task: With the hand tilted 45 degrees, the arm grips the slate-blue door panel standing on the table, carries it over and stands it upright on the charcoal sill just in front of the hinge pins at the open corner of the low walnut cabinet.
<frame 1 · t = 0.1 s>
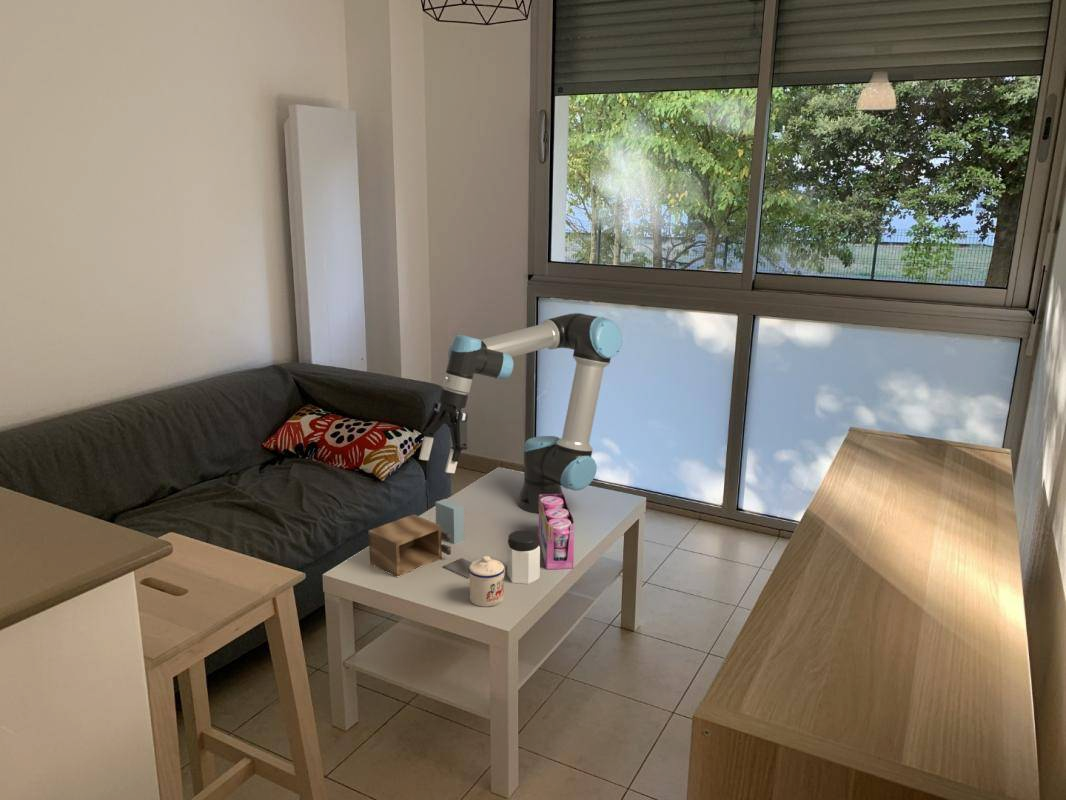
hand: (436, 466, 226), 28 cm above the table, tool tilted 20°, fingers open, 13 cm apart
teacup with lid: (490, 597, 212), on the table
gum box: (555, 552, 238), on the table
cabinet: (406, 561, 231), on the table
door panel: (450, 538, 247), on the table
jar: (523, 577, 223), on the table
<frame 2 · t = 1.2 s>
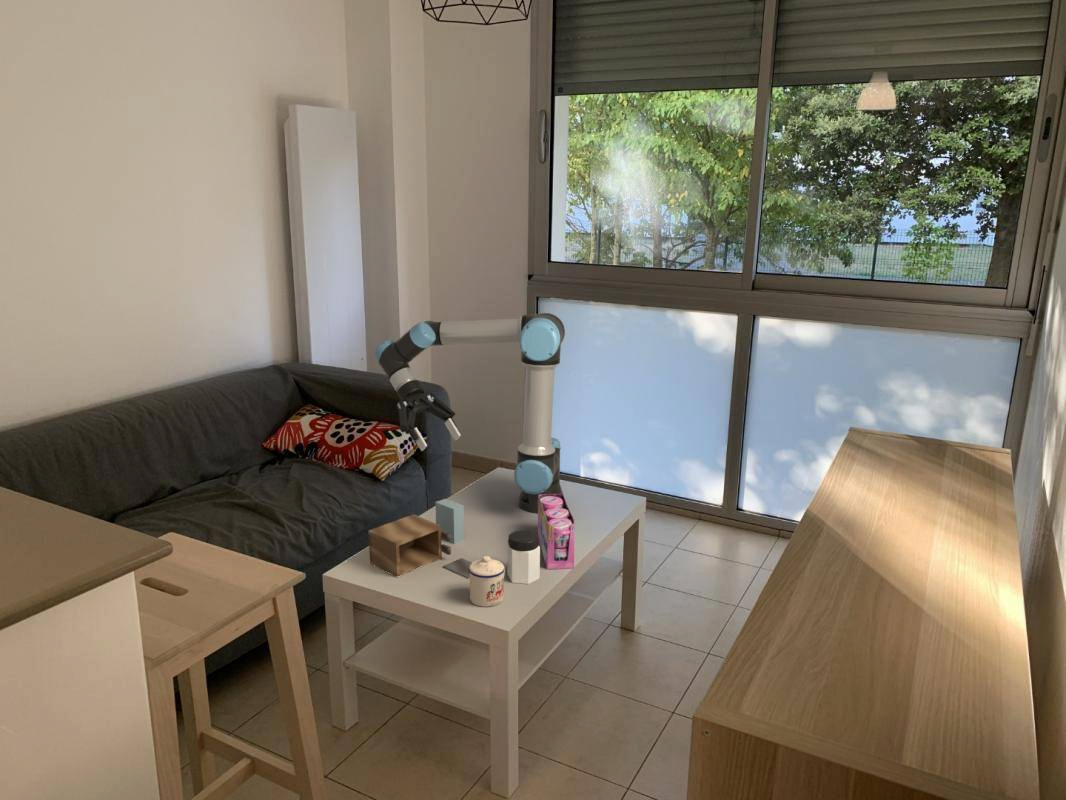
hand: (441, 443, 246), 28 cm above the table, tool tilted 45°, fingers open, 13 cm apart
nothing on the table moved.
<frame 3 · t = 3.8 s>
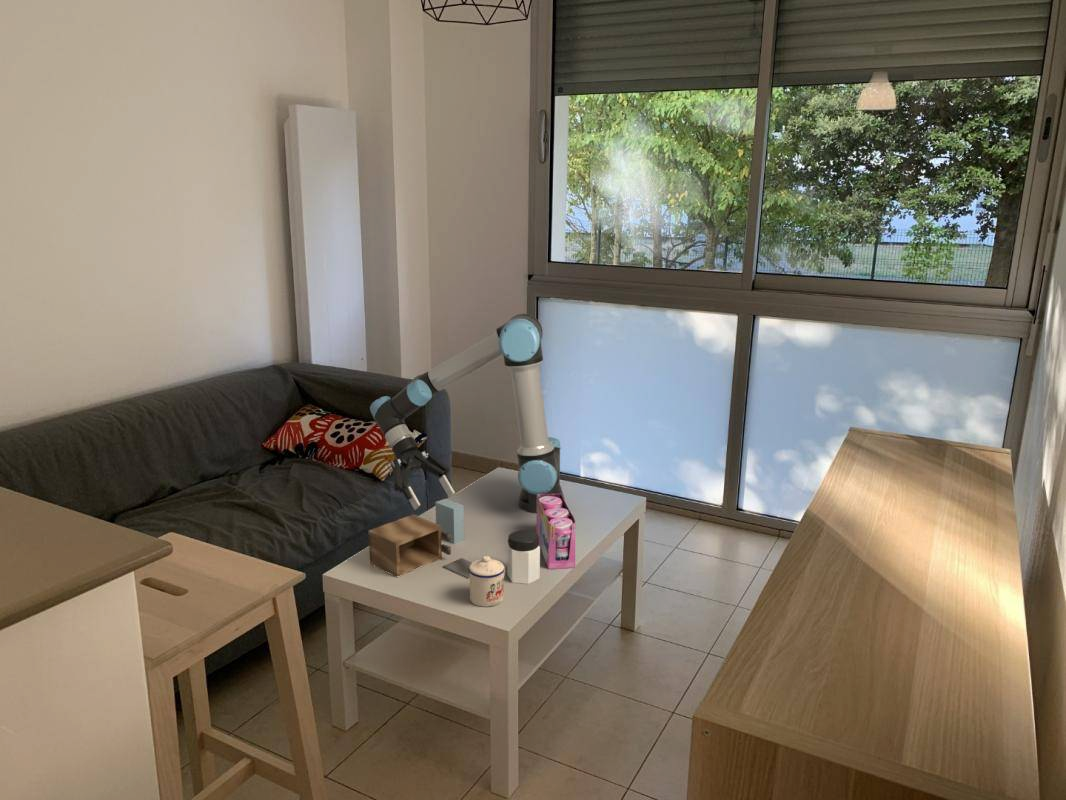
hand: (435, 501, 247), 10 cm above the table, tool tilted 45°, fingers open, 13 cm apart
nothing on the table moved.
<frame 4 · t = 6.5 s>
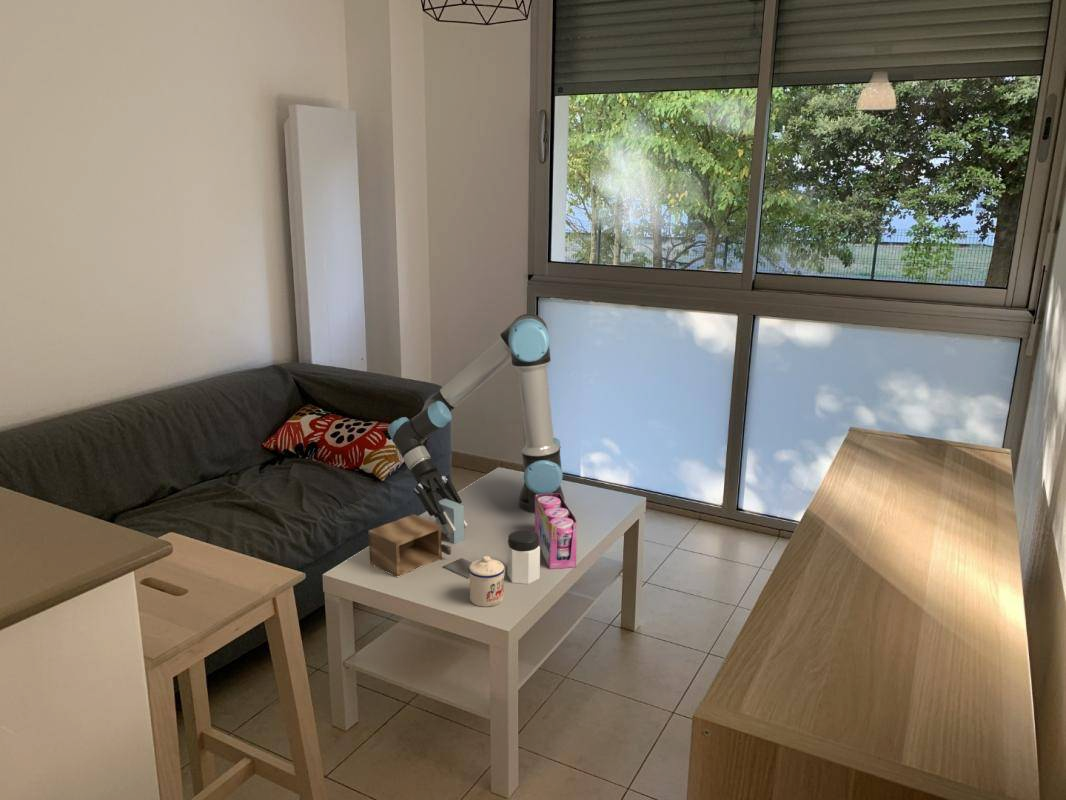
hand: (458, 529, 243), 4 cm above the table, tool tilted 45°, fingers closed on door panel, 4 cm apart
door panel: (450, 537, 247), on the table, touching gripper
everything else where it was.
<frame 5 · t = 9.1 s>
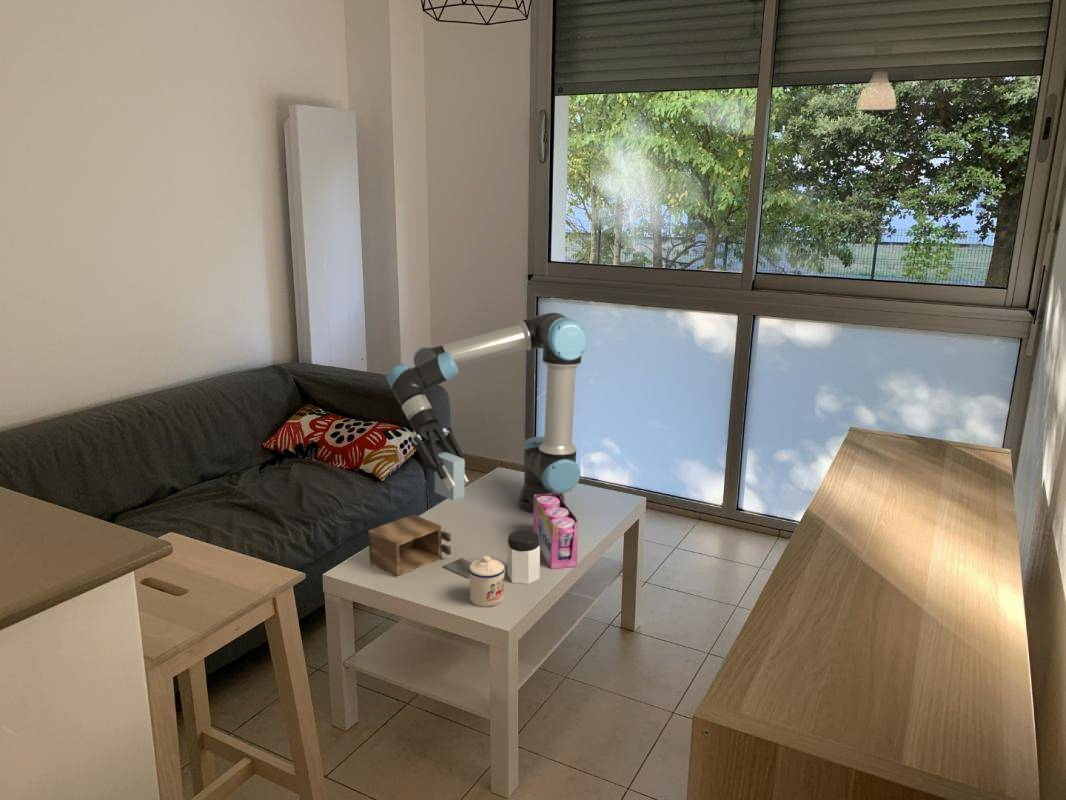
hand: (458, 485, 225), 23 cm above the table, tool tilted 45°, fingers closed on door panel, 4 cm apart
door panel: (449, 494, 229), point 19 cm above the table, touching gripper
everything else where it was.
when the fingers open (6 cm above the table, at t = 12.0 s): door panel drops 2 cm, resting on cabinet.
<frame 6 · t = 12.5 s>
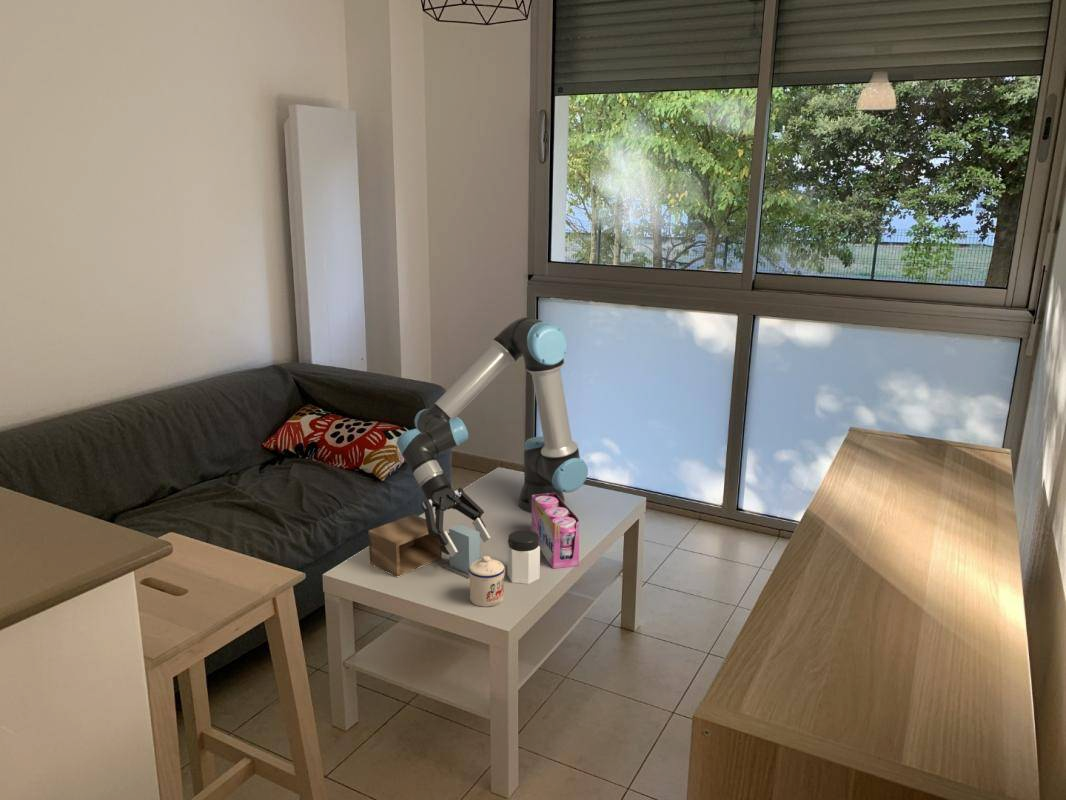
hand: (471, 547, 224), 7 cm above the table, tool tilted 45°, fingers open, 11 cm apart
door panel: (464, 567, 227), resting on cabinet
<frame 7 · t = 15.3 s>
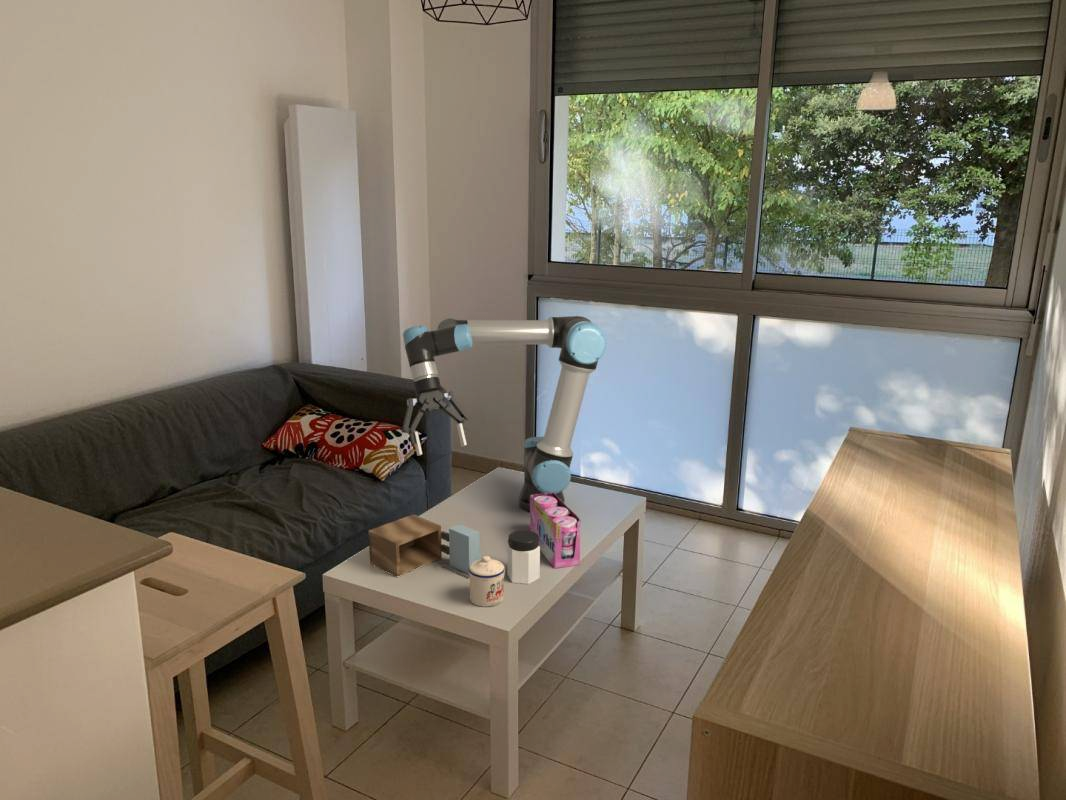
hand: (442, 450, 236), 29 cm above the table, tool tilted 25°, fingers open, 13 cm apart
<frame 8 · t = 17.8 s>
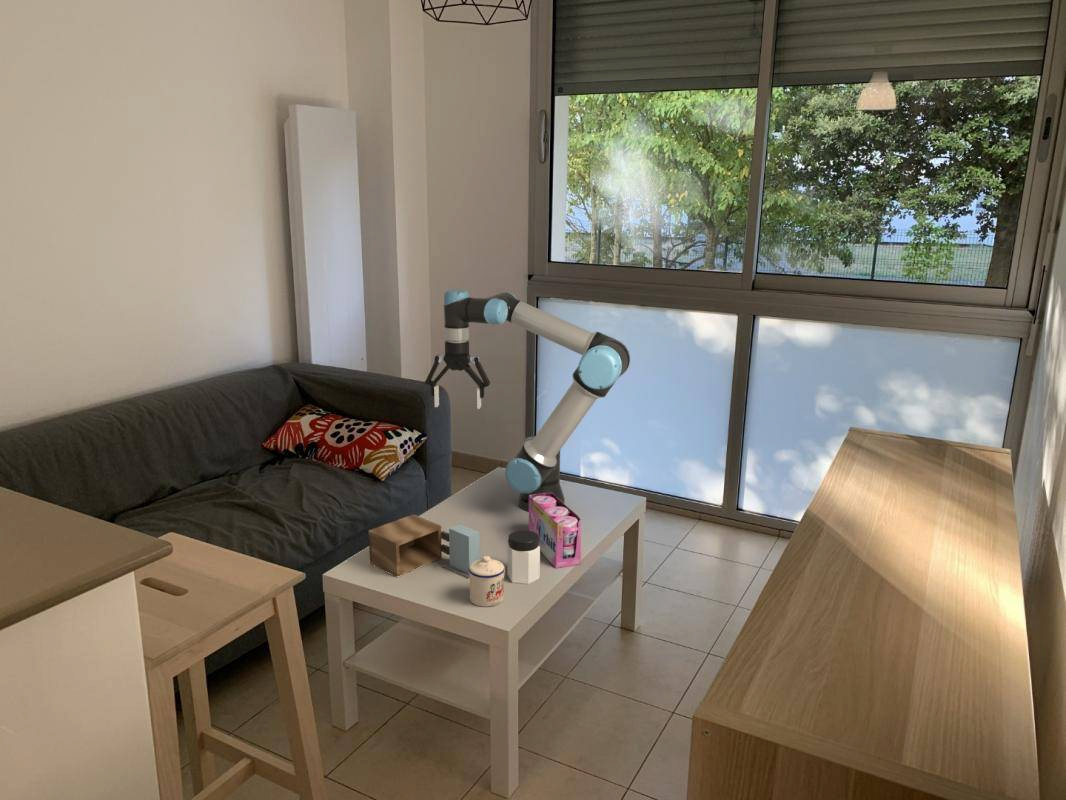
hand: (457, 407, 259), 35 cm above the table, tool pointing down, fingers open, 13 cm apart
at the end: door panel inside the target area on the cabinet (0.1 cm from its centre), point 0.4 cm above the cabinet's base; door panel tilted 0°; the gripper is holding nothing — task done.
